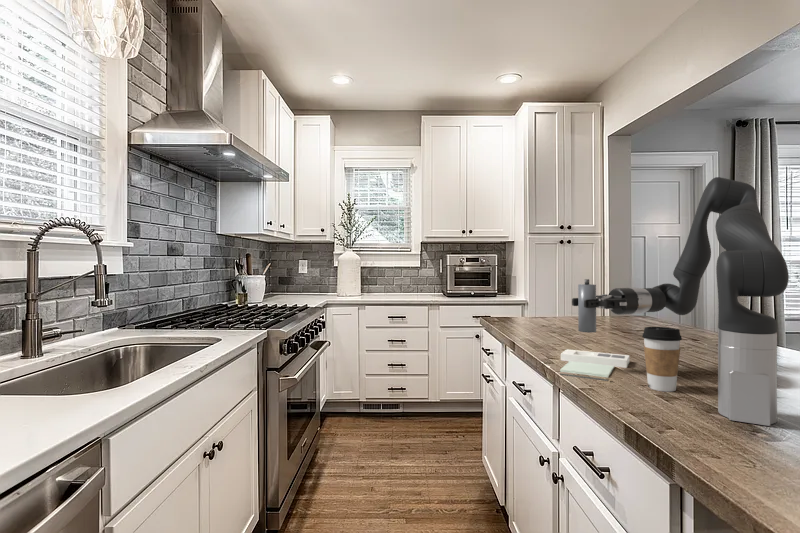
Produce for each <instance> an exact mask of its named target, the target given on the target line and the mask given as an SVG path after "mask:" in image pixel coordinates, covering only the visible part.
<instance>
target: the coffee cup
mask: <svg viewBox="0 0 800 533" xmlns="http://www.w3.org/2000/svg"><path fill="white" fill-rule="evenodd" d="M642 338H643V342H644V345H643V351H644V352H643V353H644V362H645V369H646V378H647V379H646V380H647V387H648V389H651V390H653V391H659V392H665V393H666V392H667V393H669V392H675V391H676V390H677V384H678V374H679V364H680V355H681V348H680V344H681V341H683V339H682V335H681V332H680V329H679V328H672V327H664V326H646V327H644V330H643V333H642Z"/></svg>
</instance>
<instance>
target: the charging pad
mask: <svg viewBox="0 0 800 533" xmlns="http://www.w3.org/2000/svg"><path fill="white" fill-rule="evenodd" d="M614 369H615V366H609V365H600V364H591V363H582V362H573V361H567V363H566V364H564V365H563V366H562V367H561V368H560V370H559V372H561V373H559V375H560V376H566V377H571V378H572V377H573V378H580V379H587V380H588V379H589V380H596V381H605V382H609V380H610V379H608V378H609V376H610V375H611V374H612V372H613V370H614ZM566 373H567V374H566ZM576 374H577V375H576ZM583 375H586V376H583ZM592 376H594V377H592ZM599 377H600V378H599ZM606 378H607V379H606Z"/></svg>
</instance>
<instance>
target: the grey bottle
mask: <svg viewBox="0 0 800 533" xmlns="http://www.w3.org/2000/svg"><path fill="white" fill-rule="evenodd" d="M596 295H597V284H592V283H591V284H590V279H589V278H588V279H587V278H585V279H584V283H583V284H582V283H581V284H578V285H577V296H578V297H577V298H578V306H577V307H578V308H577V311H578V312H577V313H578V314H577V315H578V320H577V321H578V323H577V324H578V328H577V329H578V330H577V331H578V332H580V333H589V334H591V333H597V308H585V307H584V300H588V299H596V298H597V297H596Z"/></svg>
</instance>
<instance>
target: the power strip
mask: <svg viewBox="0 0 800 533" xmlns="http://www.w3.org/2000/svg"><path fill="white" fill-rule="evenodd" d="M560 361H563V362H564V361H565V362H569V361H573V362H582V363H591V364H600V365H609V366H614V368H615V367H616V368H624V369H625V368H628V366H629V364H630V354H629V355H628V354H620V353H619V354H618V353H611V352H610V353H609V352H598V351H588V350H577V349H568V348H567V349H565V350H564V351H562V352H561V353H560Z"/></svg>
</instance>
